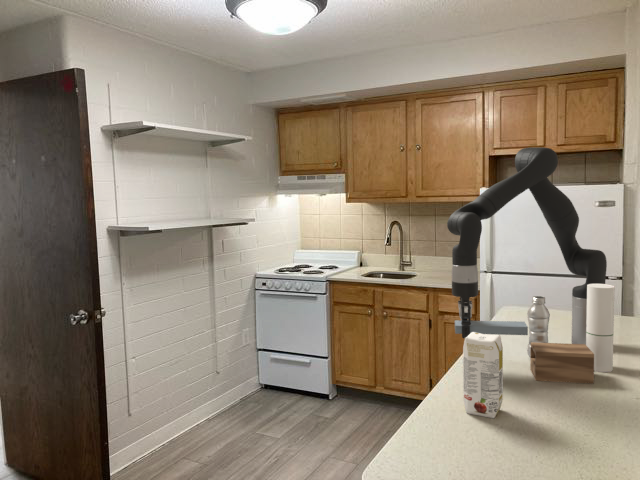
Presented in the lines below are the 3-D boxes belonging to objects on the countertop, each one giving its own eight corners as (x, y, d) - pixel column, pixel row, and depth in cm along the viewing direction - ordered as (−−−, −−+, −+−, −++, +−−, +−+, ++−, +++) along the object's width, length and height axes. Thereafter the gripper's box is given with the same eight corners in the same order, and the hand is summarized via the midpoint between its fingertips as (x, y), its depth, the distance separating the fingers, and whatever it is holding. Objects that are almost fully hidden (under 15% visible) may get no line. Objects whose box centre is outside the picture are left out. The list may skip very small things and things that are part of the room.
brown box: (530, 369, 156) (530, 342, 155) (584, 372, 152) (585, 344, 151) (535, 380, 147) (535, 351, 146) (593, 383, 143) (594, 354, 142)
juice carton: (497, 420, 122) (497, 342, 121) (461, 413, 127) (460, 337, 125) (504, 409, 129) (504, 334, 127) (469, 402, 133) (469, 330, 131)
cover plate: (454, 328, 158) (454, 320, 158) (524, 329, 153) (524, 321, 153) (455, 333, 152) (455, 325, 152) (527, 335, 148) (527, 327, 147)
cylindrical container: (611, 365, 157) (613, 284, 155) (613, 373, 151) (615, 288, 148) (585, 362, 160) (586, 283, 158) (586, 370, 154) (587, 287, 151)
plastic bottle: (552, 362, 161) (552, 299, 159) (529, 362, 162) (529, 299, 160) (547, 356, 167) (548, 295, 165) (525, 355, 169) (525, 295, 167)
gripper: (479, 284, 145) (480, 342, 147) (476, 275, 159) (477, 328, 161) (452, 284, 147) (452, 341, 149) (451, 275, 161) (452, 328, 162)
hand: (465, 334), depth 155 cm, fingers closed on cover plate, 6 cm apart
